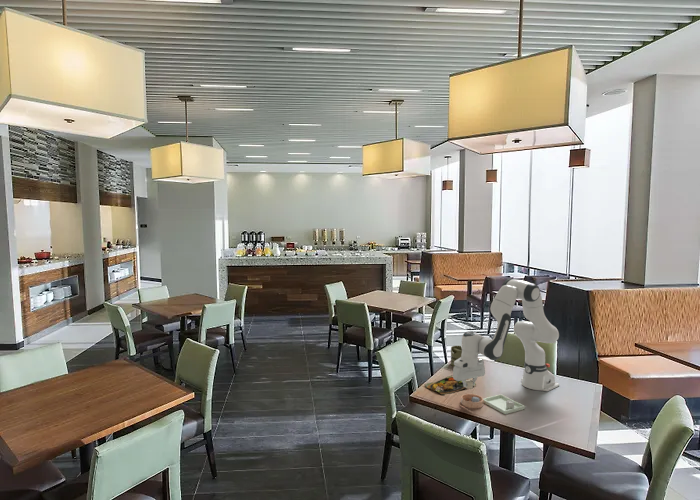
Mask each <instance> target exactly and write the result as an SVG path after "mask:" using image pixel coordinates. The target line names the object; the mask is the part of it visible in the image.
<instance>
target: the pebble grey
mask: <svg viewBox="0 0 700 500" xmlns="http://www.w3.org/2000/svg"><path fill="white" fill-rule="evenodd" d="M513 408H514V402H513V401H511V400H507V401H506V409H507V410H509V409H513Z"/></svg>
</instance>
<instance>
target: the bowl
mask: <svg viewBox="0 0 700 500" xmlns="http://www.w3.org/2000/svg"><path fill="white" fill-rule="evenodd" d="M472 397H478V398H479V402H472ZM483 398H484V397H483V396H481V395H478V394H476V393H464V394H462V395H461V396H460V403H461V405H462V406H463V407H464V408H466V407H467V408H469V409H480V408H483V406H484V404H485V403H484V400H483Z"/></svg>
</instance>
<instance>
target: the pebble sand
mask: <svg viewBox="0 0 700 500" xmlns="http://www.w3.org/2000/svg"><path fill="white" fill-rule="evenodd" d="M472 380H473V379H469V380H466V383H467V387H465V388H464V389H467V390H473V389H474V385H473V381H472Z"/></svg>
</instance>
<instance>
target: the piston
mask: <svg viewBox="0 0 700 500" xmlns="http://www.w3.org/2000/svg"><path fill="white" fill-rule="evenodd" d="M461 354H462V348H461V345H453V346H450V365H451V366H452V367H454V366H455V365H454V361H455V360H457V359H459V358H460V357H461Z"/></svg>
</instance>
